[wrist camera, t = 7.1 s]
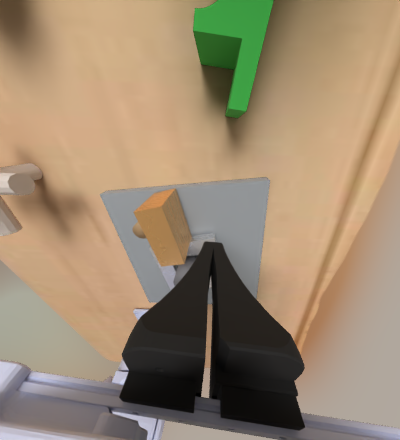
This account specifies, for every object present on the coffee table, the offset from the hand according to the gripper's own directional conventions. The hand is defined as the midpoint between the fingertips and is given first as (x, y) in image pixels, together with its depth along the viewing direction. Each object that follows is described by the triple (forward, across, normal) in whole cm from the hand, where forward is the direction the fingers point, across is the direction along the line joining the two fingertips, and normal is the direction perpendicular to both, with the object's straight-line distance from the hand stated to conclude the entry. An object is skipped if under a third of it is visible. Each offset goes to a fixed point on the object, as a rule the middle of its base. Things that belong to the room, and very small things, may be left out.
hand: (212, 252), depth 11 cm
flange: (+6, +3, +4) cm, 8 cm away
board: (+7, +2, +7) cm, 10 cm away
